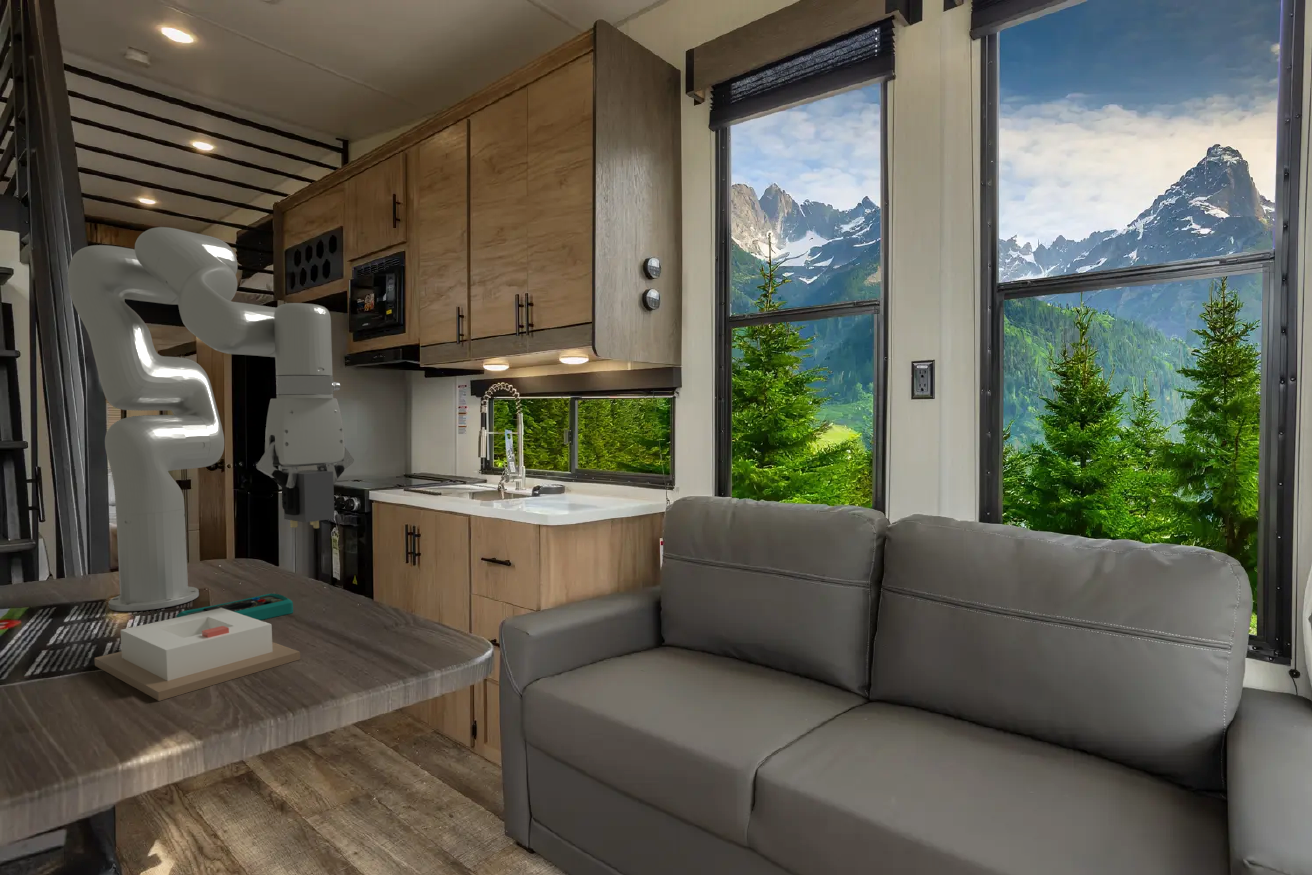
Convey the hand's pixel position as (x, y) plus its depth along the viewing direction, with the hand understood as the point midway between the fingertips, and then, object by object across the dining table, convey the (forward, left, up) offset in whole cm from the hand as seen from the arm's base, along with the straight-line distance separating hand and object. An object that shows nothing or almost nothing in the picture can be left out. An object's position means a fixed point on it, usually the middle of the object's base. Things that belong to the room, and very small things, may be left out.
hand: (309, 510), depth 108 cm
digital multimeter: (-13, -5, -18) cm, 23 cm away
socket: (+3, -17, -17) cm, 24 cm away
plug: (0, 0, -2) cm, 2 cm away
